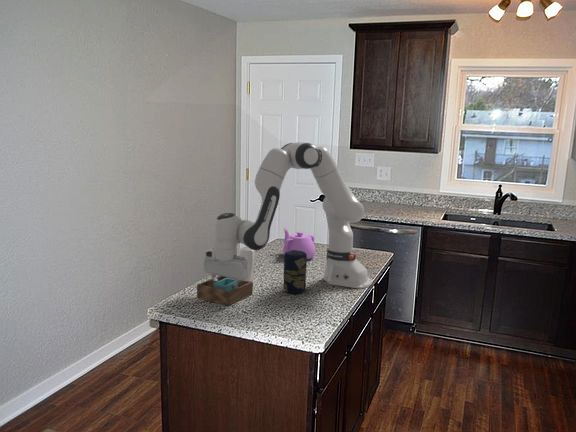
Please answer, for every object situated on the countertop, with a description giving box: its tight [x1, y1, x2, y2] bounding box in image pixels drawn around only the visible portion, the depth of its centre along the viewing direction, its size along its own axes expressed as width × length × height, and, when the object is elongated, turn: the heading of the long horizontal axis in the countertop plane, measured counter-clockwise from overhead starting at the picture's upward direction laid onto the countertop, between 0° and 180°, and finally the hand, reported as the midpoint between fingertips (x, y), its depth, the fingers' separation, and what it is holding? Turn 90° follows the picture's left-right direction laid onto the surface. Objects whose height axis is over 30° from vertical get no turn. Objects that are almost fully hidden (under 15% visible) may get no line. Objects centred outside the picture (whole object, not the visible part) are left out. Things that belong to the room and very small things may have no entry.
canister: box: [282, 250, 308, 294], centre depth 211 cm, size 10×10×18 cm
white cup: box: [238, 246, 256, 282], centre depth 222 cm, size 7×7×15 cm
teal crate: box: [213, 278, 239, 291], centre depth 203 cm, size 6×9×5 cm, turn 151°
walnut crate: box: [196, 275, 254, 307], centre depth 203 cm, size 16×16×6 cm
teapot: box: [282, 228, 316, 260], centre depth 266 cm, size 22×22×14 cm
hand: (225, 286), depth 202 cm, fingers open, 8 cm apart
